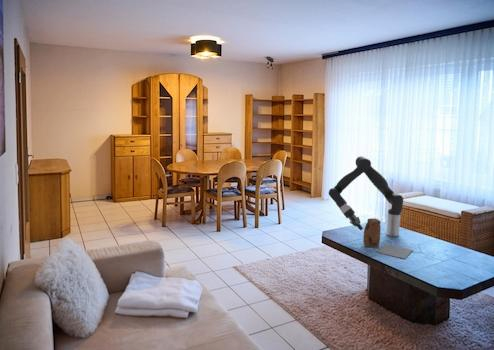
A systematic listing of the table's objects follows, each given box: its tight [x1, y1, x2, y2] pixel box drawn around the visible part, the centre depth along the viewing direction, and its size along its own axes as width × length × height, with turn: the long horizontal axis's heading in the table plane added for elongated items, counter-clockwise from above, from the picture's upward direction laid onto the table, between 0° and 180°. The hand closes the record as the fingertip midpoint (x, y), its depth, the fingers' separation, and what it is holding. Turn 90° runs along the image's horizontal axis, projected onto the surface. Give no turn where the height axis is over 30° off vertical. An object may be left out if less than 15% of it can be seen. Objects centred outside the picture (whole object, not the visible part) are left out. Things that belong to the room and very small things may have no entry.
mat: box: [374, 243, 414, 260], centre depth 285 cm, size 20×20×1 cm
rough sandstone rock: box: [363, 218, 382, 248], centre depth 294 cm, size 11×8×20 cm
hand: (361, 229), depth 299 cm, fingers closed
